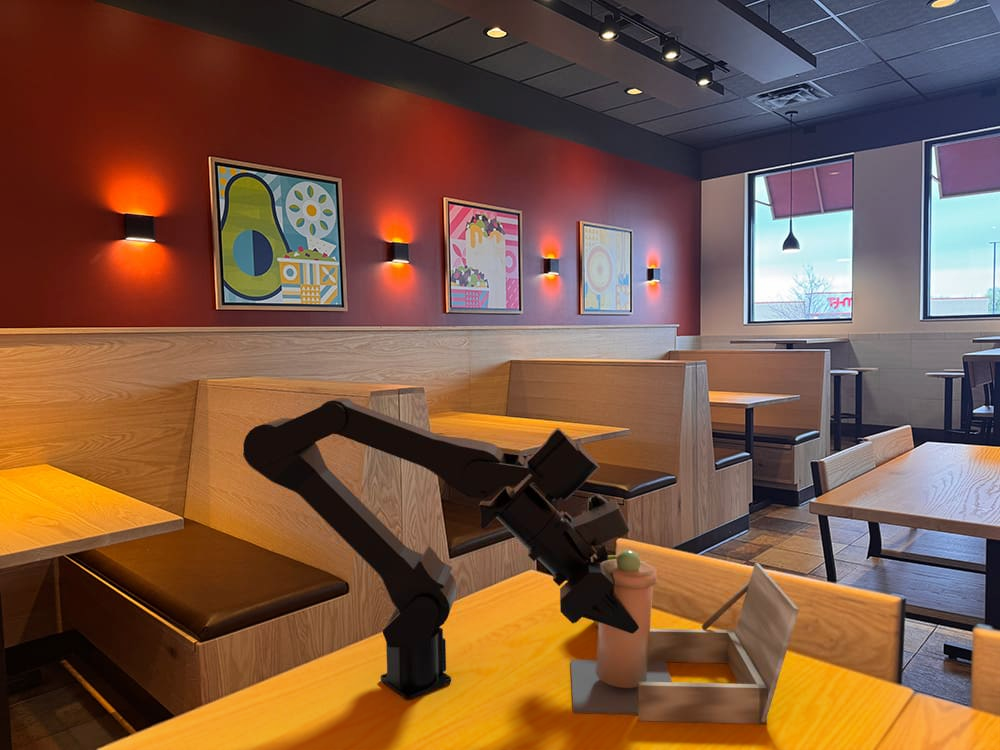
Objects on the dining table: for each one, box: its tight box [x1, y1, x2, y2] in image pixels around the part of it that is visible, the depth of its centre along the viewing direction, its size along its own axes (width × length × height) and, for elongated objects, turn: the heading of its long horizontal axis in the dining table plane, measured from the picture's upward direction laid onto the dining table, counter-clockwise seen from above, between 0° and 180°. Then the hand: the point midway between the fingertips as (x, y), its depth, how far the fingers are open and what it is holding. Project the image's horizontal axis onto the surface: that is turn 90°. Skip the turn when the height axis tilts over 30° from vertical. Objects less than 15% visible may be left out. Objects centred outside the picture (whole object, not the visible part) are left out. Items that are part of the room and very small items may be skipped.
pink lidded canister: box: [595, 549, 658, 688], centre depth 83 cm, size 7×7×15 cm
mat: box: [570, 659, 673, 715], centre depth 84 cm, size 12×12×1 cm
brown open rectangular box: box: [637, 562, 799, 725], centre depth 83 cm, size 17×15×13 cm
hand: (632, 619), depth 83 cm, fingers closed on pink lidded canister, 6 cm apart
